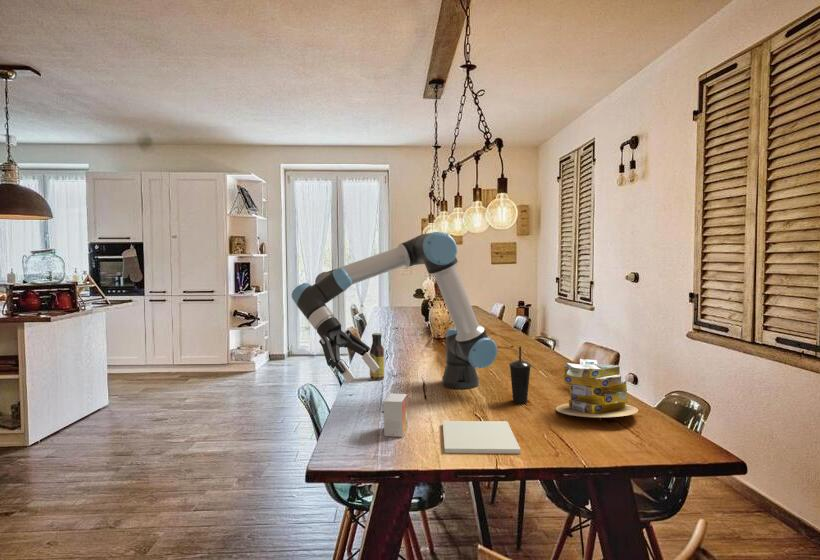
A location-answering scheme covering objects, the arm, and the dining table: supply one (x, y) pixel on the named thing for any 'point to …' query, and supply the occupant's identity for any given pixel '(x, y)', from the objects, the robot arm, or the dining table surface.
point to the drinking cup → (520, 379)
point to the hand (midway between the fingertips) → (364, 375)
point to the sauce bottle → (377, 356)
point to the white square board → (479, 437)
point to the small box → (395, 415)
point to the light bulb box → (587, 361)
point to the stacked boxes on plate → (595, 391)
